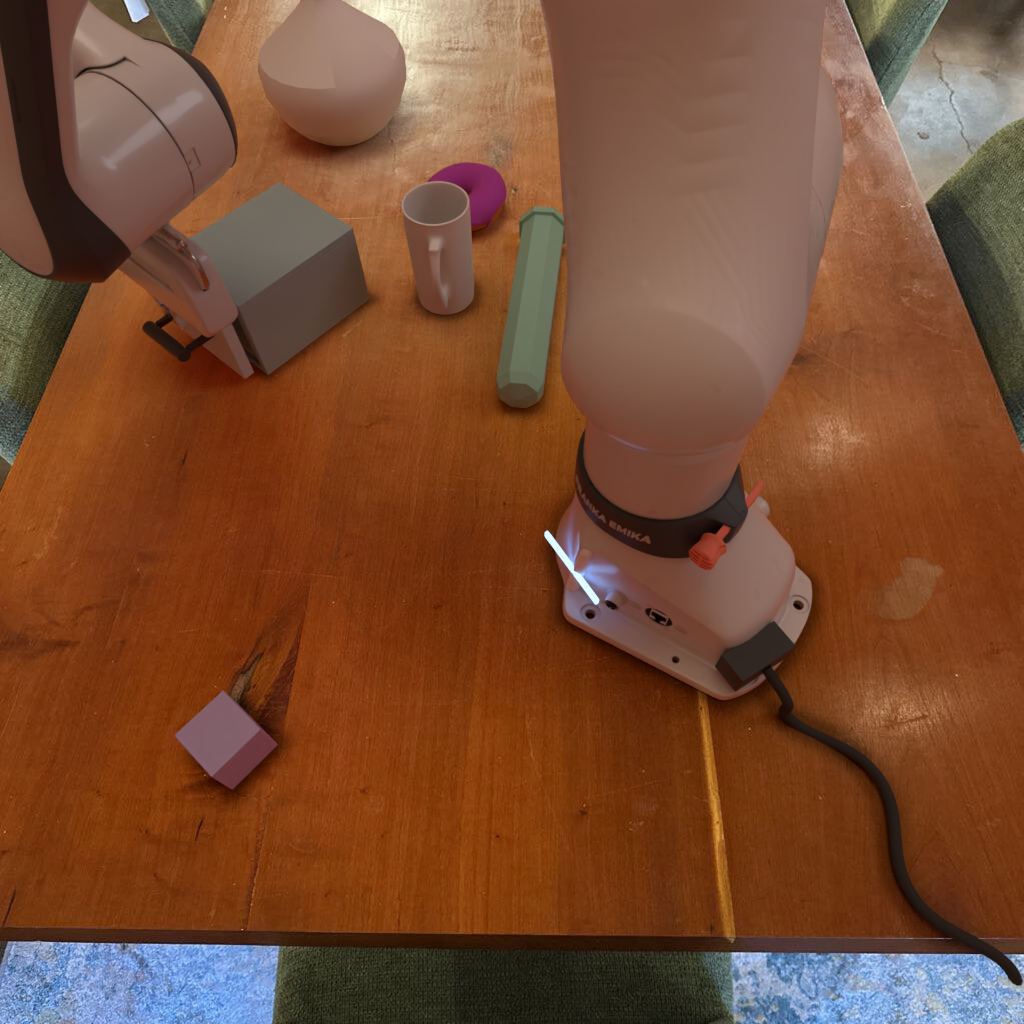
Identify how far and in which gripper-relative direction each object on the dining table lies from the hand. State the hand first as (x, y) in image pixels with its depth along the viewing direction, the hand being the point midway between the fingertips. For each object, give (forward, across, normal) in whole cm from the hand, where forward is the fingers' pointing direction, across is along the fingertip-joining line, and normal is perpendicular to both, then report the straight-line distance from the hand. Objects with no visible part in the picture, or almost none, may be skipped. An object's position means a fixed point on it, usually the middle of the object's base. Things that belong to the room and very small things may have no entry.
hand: (180, 318), depth 74 cm
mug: (+7, -13, -23) cm, 27 cm away
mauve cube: (+7, -34, +23) cm, 42 cm away
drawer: (+6, 0, -6) cm, 8 cm away
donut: (+7, -4, -36) cm, 37 cm away
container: (+7, -22, -27) cm, 35 cm away
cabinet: (+7, 0, -11) cm, 13 cm away
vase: (+7, +21, -39) cm, 45 cm away
